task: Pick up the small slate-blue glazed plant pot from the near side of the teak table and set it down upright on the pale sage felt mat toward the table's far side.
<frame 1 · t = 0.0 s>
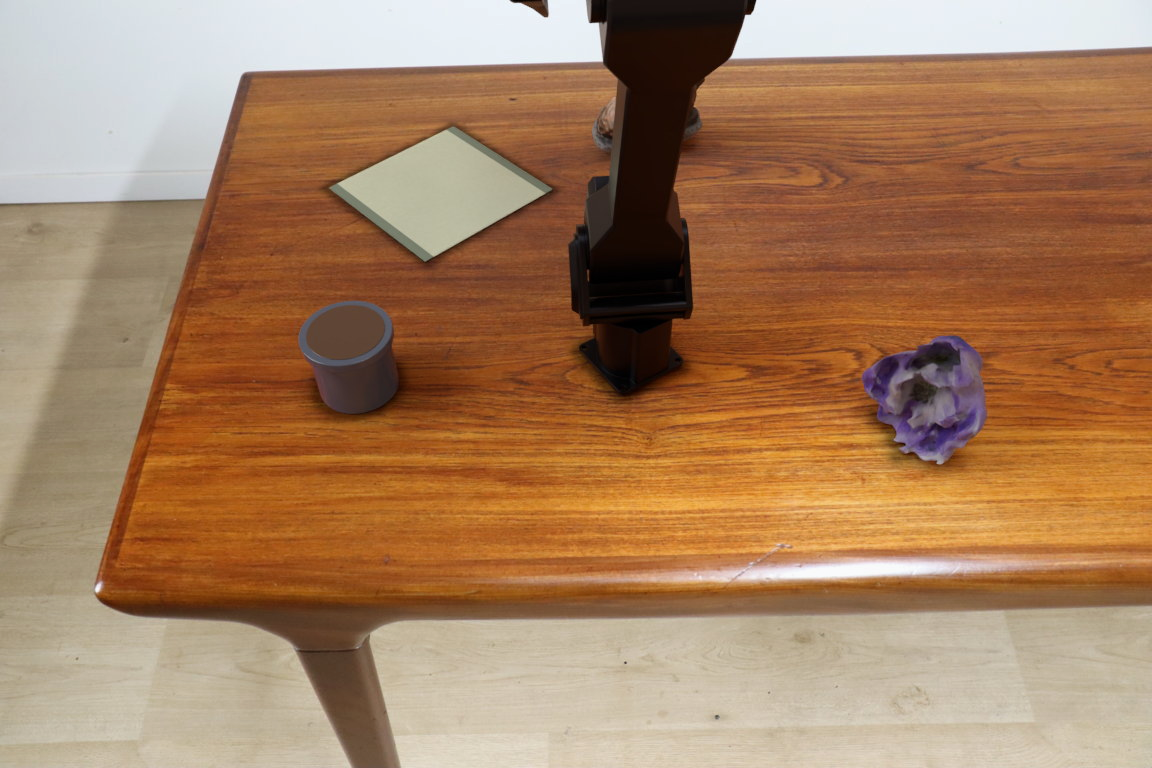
hand: (594, 10, 89), 15 cm above the table, tool tilted 35°, fingers open, 9 cm apart
pot: (359, 384, 77), on the table
mat: (440, 189, 95), on the table
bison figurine: (646, 143, 101), on the table
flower: (920, 420, 74), on the table
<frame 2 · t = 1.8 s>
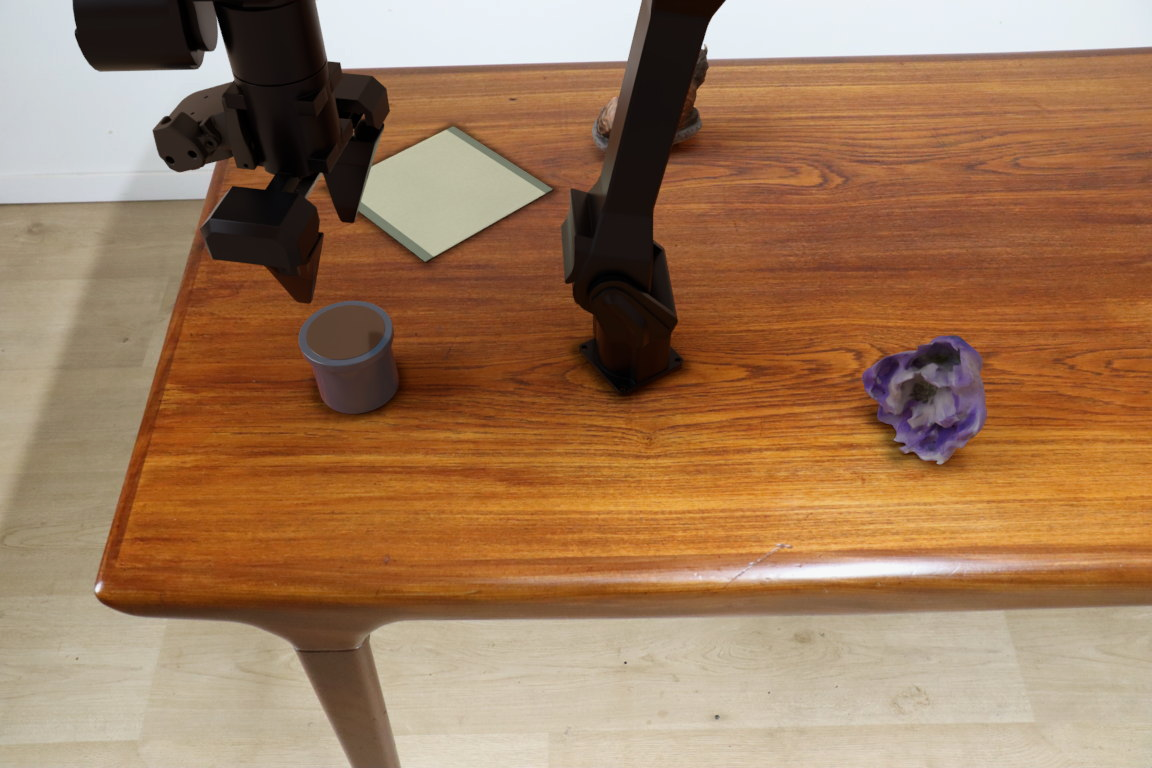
hand: (327, 259, 69), 12 cm above the table, tool pointing down, fingers open, 9 cm apart
nothing on the table moved.
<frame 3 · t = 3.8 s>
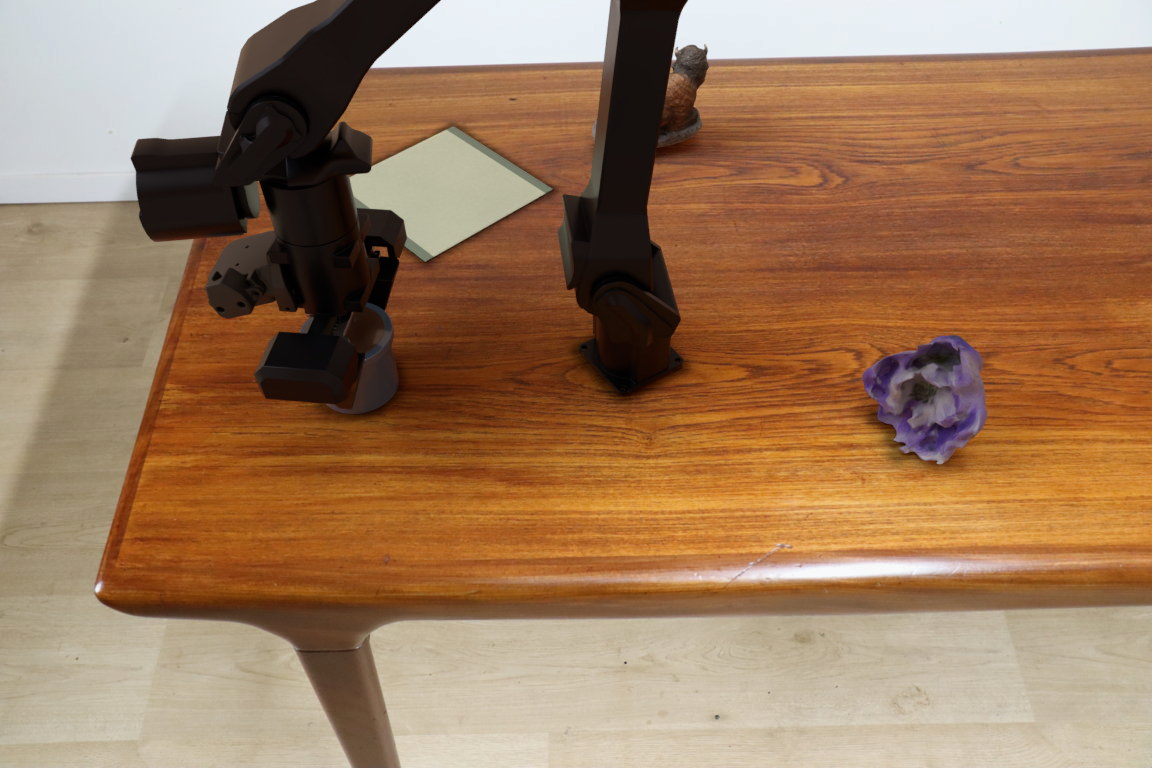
hand: (357, 375, 77), 1 cm above the table, tool pointing down, fingers closed on pot, 6 cm apart
pot: (359, 384, 77), on the table, touching gripper
everything else where it was.
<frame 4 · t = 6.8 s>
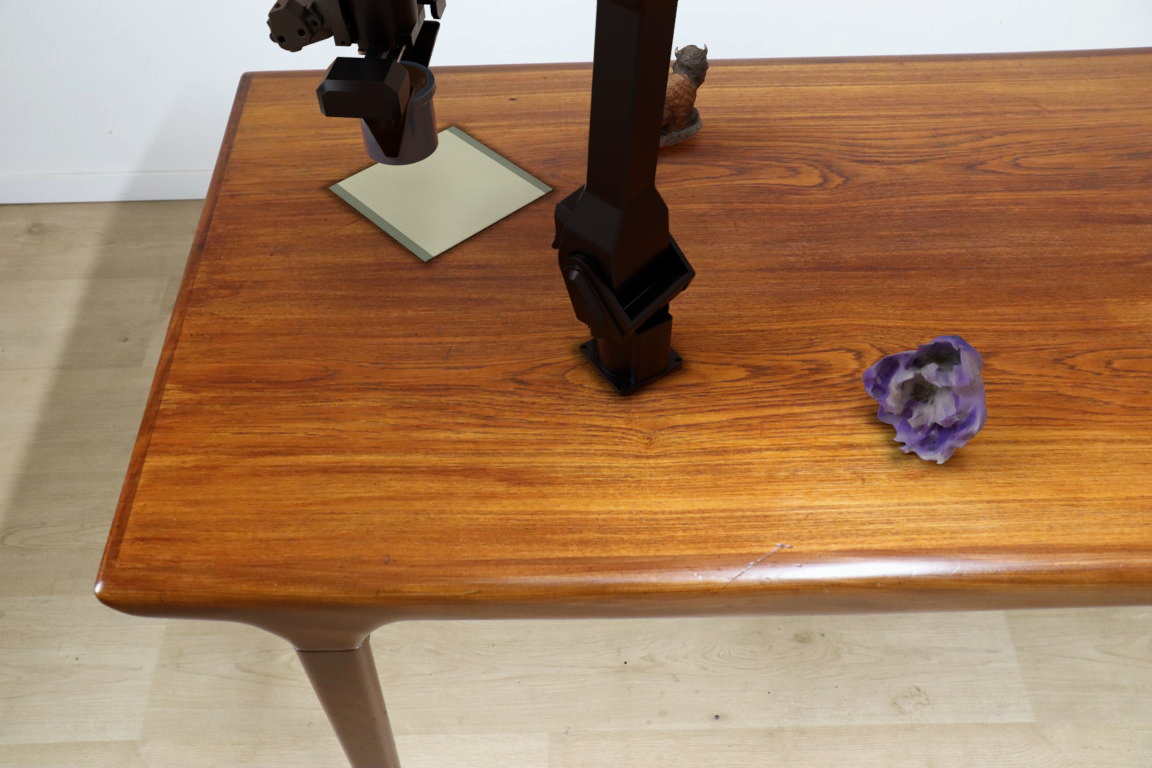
hand: (401, 133, 82), 11 cm above the table, tool pointing down, fingers closed on pot, 6 cm apart
pot: (401, 144, 83), point 10 cm above the table, touching gripper
everything else where it was.
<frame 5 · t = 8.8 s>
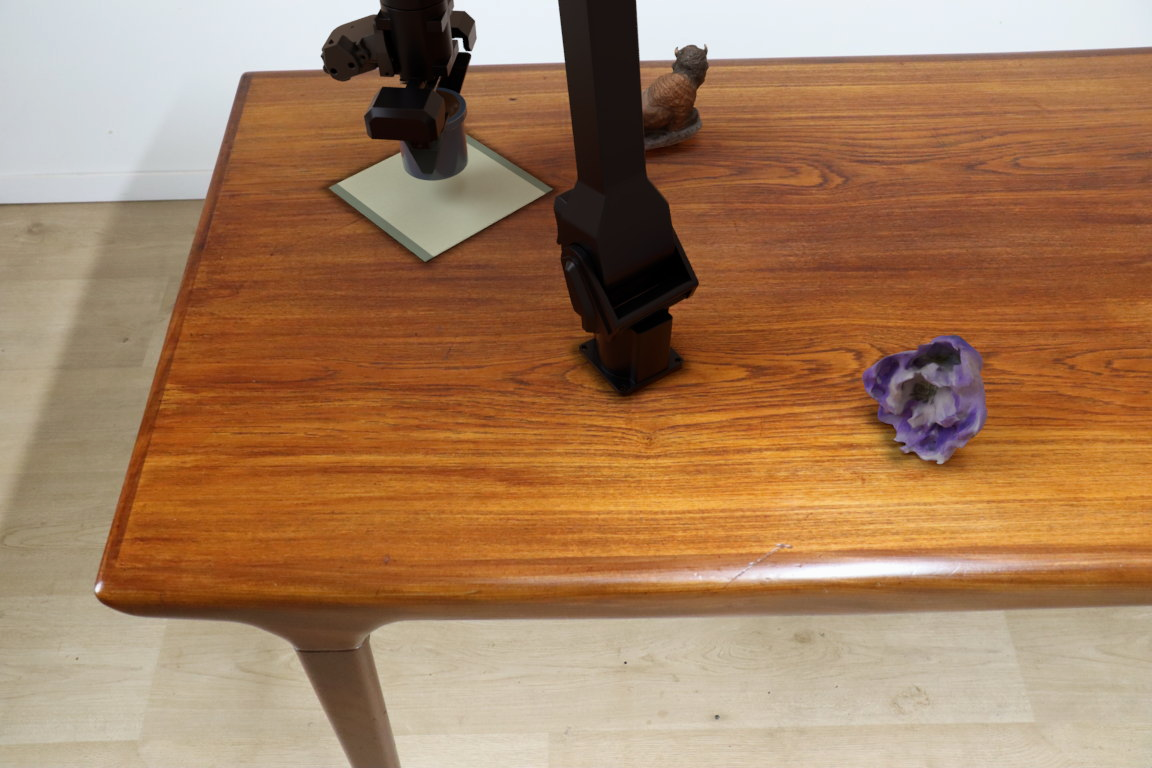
hand: (435, 152, 92), 4 cm above the table, tool pointing down, fingers closed on pot, 6 cm apart
pot: (435, 161, 93), point 3 cm above the table, touching gripper
everything else where it was.
when the fingers open (1 cm above the table, at t = 10.2 s): pot stays where it is, resting on mat.
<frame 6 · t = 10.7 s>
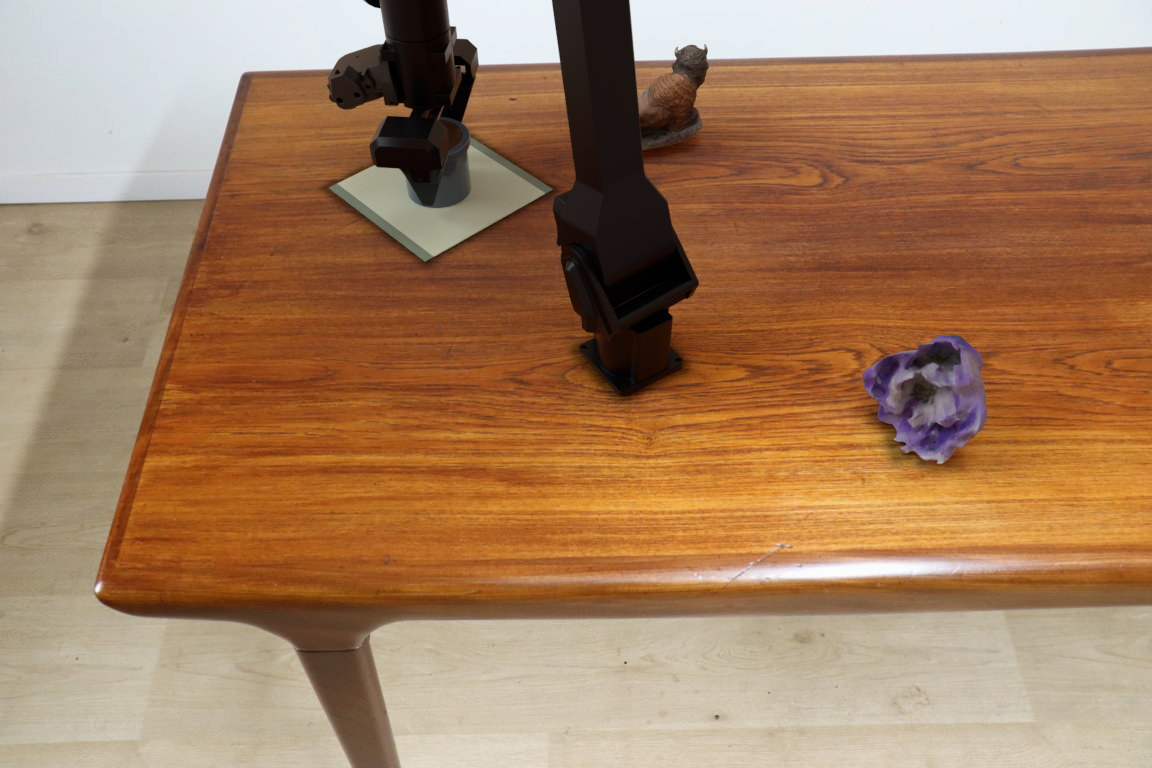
hand: (438, 176, 94), 1 cm above the table, tool pointing down, fingers open, 9 cm apart
pot: (439, 188, 95), resting on mat
everything else where it was.
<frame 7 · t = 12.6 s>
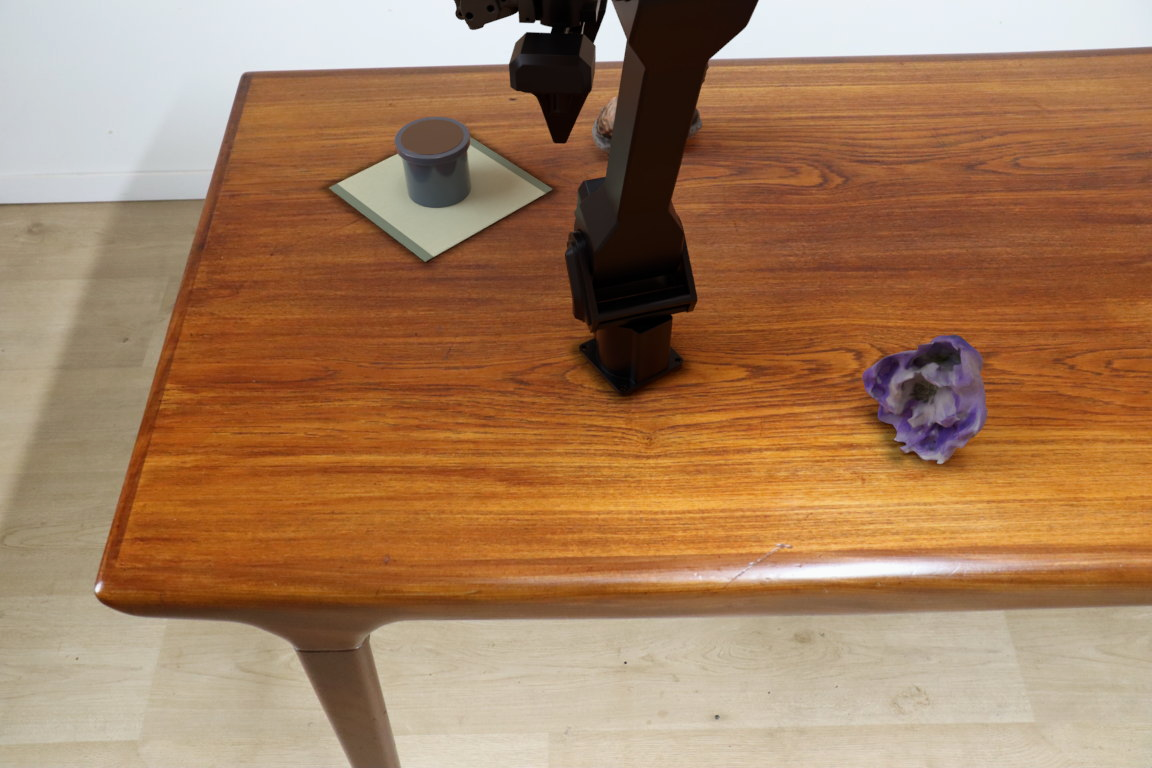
hand: (566, 113, 83), 12 cm above the table, tool pointing down, fingers open, 9 cm apart
nothing on the table moved.
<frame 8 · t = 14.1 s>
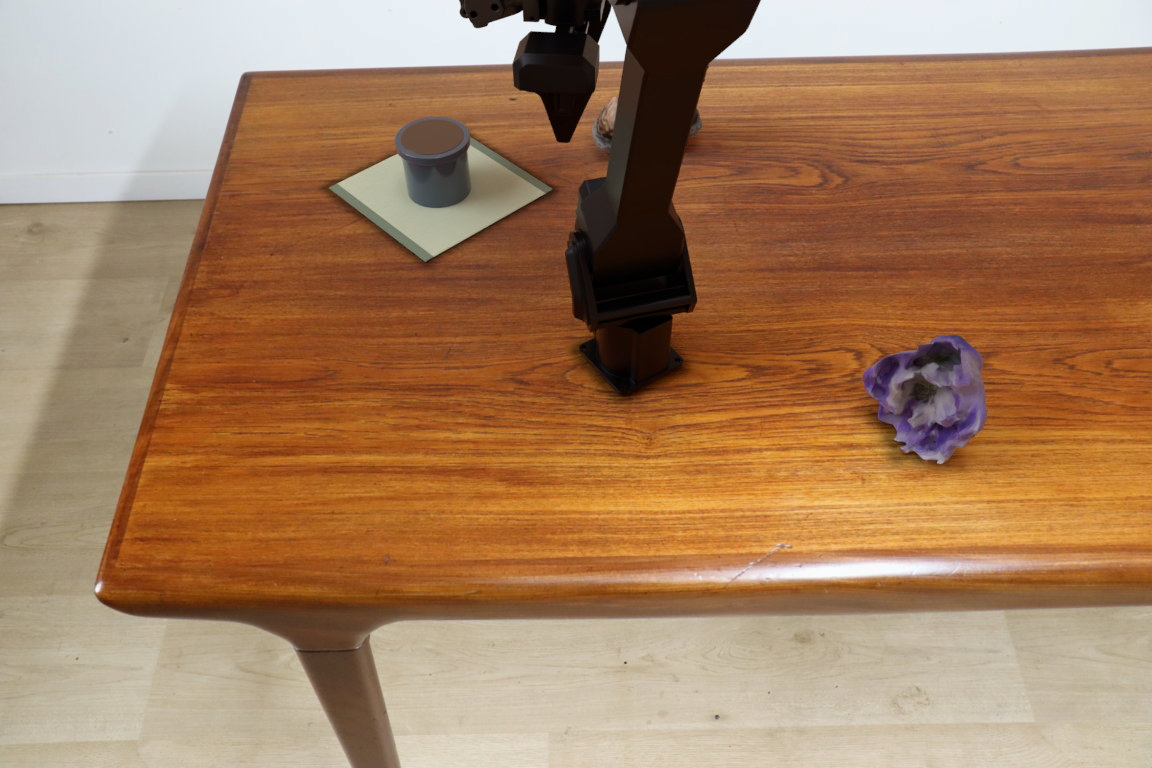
hand: (570, 111, 83), 12 cm above the table, tool pointing down, fingers open, 9 cm apart
nothing on the table moved.
at the end: pot inside the target area on the mat (0.1 cm from its centre), point 0.1 cm above the mat's base; pot tilted 0°; the gripper is holding nothing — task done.
